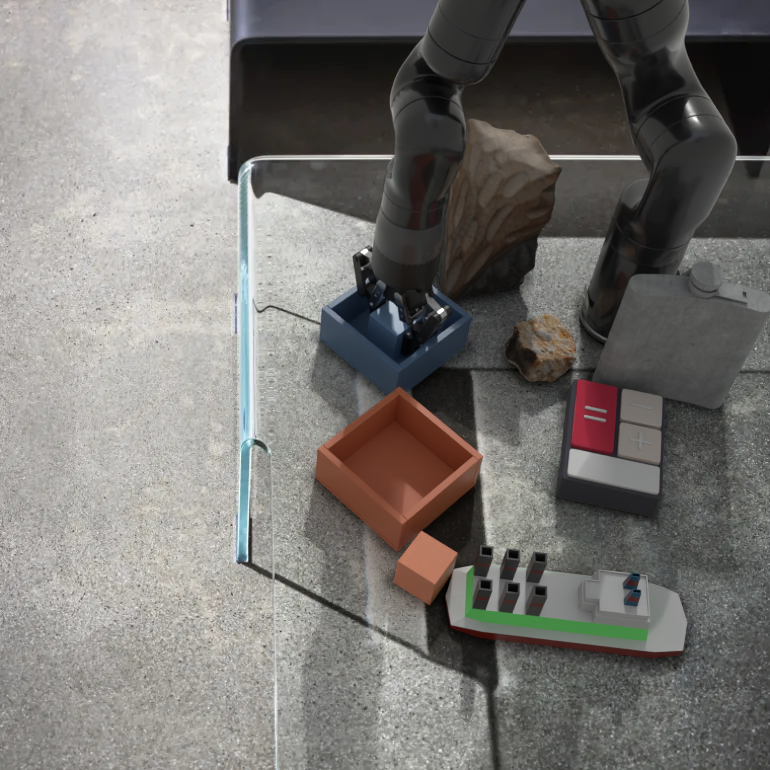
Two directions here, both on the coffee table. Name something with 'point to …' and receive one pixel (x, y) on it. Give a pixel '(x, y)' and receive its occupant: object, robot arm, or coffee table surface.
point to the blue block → (386, 330)
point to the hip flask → (682, 335)
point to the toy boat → (565, 607)
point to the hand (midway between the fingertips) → (392, 338)
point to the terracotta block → (425, 567)
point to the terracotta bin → (397, 467)
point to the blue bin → (349, 340)
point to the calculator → (612, 448)
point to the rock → (541, 348)
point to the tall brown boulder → (495, 212)
